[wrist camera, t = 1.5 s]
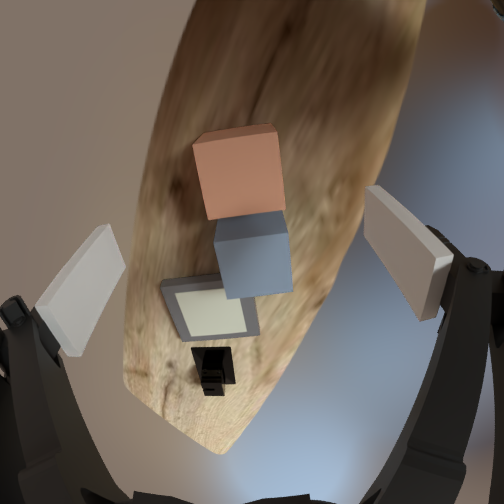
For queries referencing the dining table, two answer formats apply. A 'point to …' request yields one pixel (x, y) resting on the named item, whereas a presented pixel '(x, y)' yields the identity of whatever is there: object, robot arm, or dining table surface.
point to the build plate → (214, 368)
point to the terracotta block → (240, 171)
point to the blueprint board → (208, 309)
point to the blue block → (254, 254)
